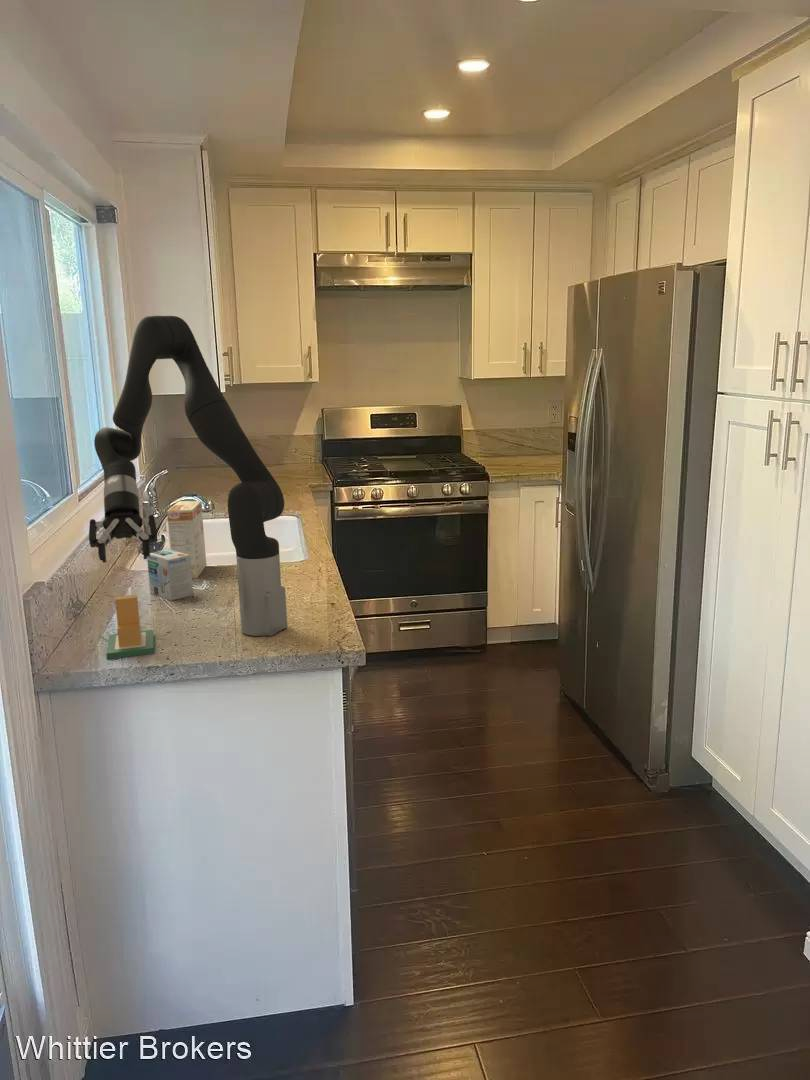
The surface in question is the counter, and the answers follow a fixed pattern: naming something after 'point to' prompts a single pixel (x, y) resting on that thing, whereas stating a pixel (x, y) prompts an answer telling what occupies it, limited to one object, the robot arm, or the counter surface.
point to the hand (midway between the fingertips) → (125, 559)
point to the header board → (142, 649)
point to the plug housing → (128, 621)
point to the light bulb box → (170, 574)
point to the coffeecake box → (188, 533)
